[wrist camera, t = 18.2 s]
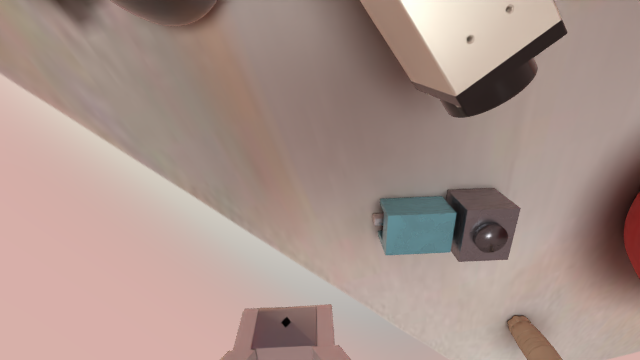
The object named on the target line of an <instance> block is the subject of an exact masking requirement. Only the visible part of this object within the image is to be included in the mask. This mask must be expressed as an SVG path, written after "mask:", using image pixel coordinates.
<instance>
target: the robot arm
mask: <svg viewBox="0 0 640 360" xmlns="http://www.w3.org/2000/svg"><path fill="white" fill-rule="evenodd" d="M220 360H351V359H350V358H349V357H348V355H347V354H346V353H345V352H344V351H343V349H342V348H341V347H340V346H339V345H336V346H335V343H334V329H333V316H332V306H331V304H329V305H317V306H316V305H313V306H296V307H278V308H253V309H252V308H251V309H244V311H243V313H242V317H241V321H240V325H239V329H238V332H237V336H236V341H235V344H234V348H233V351H228V352H227V353H226V354H225V355H224V356H223V357H222V358H221V359H220Z"/></svg>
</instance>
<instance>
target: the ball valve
mask: <svg viewBox="0 0 640 360" xmlns="http://www.w3.org/2000/svg"><path fill="white" fill-rule="evenodd" d="M360 2H361V3H362V5H363V6H364V8H365V10H366V11H367V13H368V14H369V16H370V17H371V19H372V20H373V22H374V24H375V25H376V27H377V28H378V30H379V31H380V33H381V34H382V36H383V38H384V39H385V41H386V42H387V44H388V45H389V47H390V48H391V50H392V52H393V53H394V55H395V56H396V58H397V59H398V61H399V63H400V64H401V66H402V67H403V69H404V70H405V72H406V73H407V75H408V77H409V78H410V80H411V81H412V83H413V84H414V86H415V87H416V89H417V90H420V91H422V92H424V93H427V94H428V95H432V96H434V97H437V98H439V99H440V101H441V102H442V104H443V106H444V107H445V109H446V111H447V112H448V114H449V115H451V116H453V117H457V118H463V117H470V116H474V115H478V114H481V113H483V112H486V111H488V110H491V109H493V108H495V107H497V106H499V105H501V104H503V103H505V102H506V101H508V100H509V99H511V98H512V97H514V96H515V95H517V94H518V93H519V92H521V91H522V90H523V89H524V88H525V87H526V86H527V85H528V84H529V83H530V82H531V81H532V80H533V78H534V77H535V75H536V73H537V69H538V67H537V64H536V62H535V60H534V58H533V57H535V56H536V55H538V54H539V53H540V52H542V51H543V50H545V49H546V48H547V47H549V46H550V45H552V44H553V43H554V42H556V41H557V40H559V39H560V38H561V37H563V36H564V35H566V34H567V30H566V28H565V26H564V23H563V21H562V18H561V16H560V14H559V11H558V9H557V6H556V4H555V2H554V0H360Z"/></svg>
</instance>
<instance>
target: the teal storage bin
mask: <svg viewBox="0 0 640 360" xmlns="http://www.w3.org/2000/svg"><path fill="white" fill-rule="evenodd" d="M380 205H381V207H382V210H383V212H384V221H383V231H378V236H379V239H380V241H381V244H382V247H383V250H384V252H385V255H401V254H423V253H445V252H450V251H451V245H452V239H453V232H454V226H455V220H456V212H455V211H454V209H453V208H452V207H451V206H450V205H449V204H448V203H447V202H446V200H445V199H444V198H443V197H442V196H434V197H410V198H386V199H380Z"/></svg>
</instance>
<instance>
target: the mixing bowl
mask: <svg viewBox="0 0 640 360" xmlns="http://www.w3.org/2000/svg"><path fill="white" fill-rule="evenodd" d="M624 244H625V249H626V252H627V255H628V257H629V260H630V262H631V264H632V266H633V268H634V270H635V272H636V274H637V275H638V277H639V279H640V192H639V193H638V194H637V196H636V198H635V199H634V201H633V203H632V205H631V207H630V209H629V212H628V214H627V217H626V220H625V227H624Z"/></svg>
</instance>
